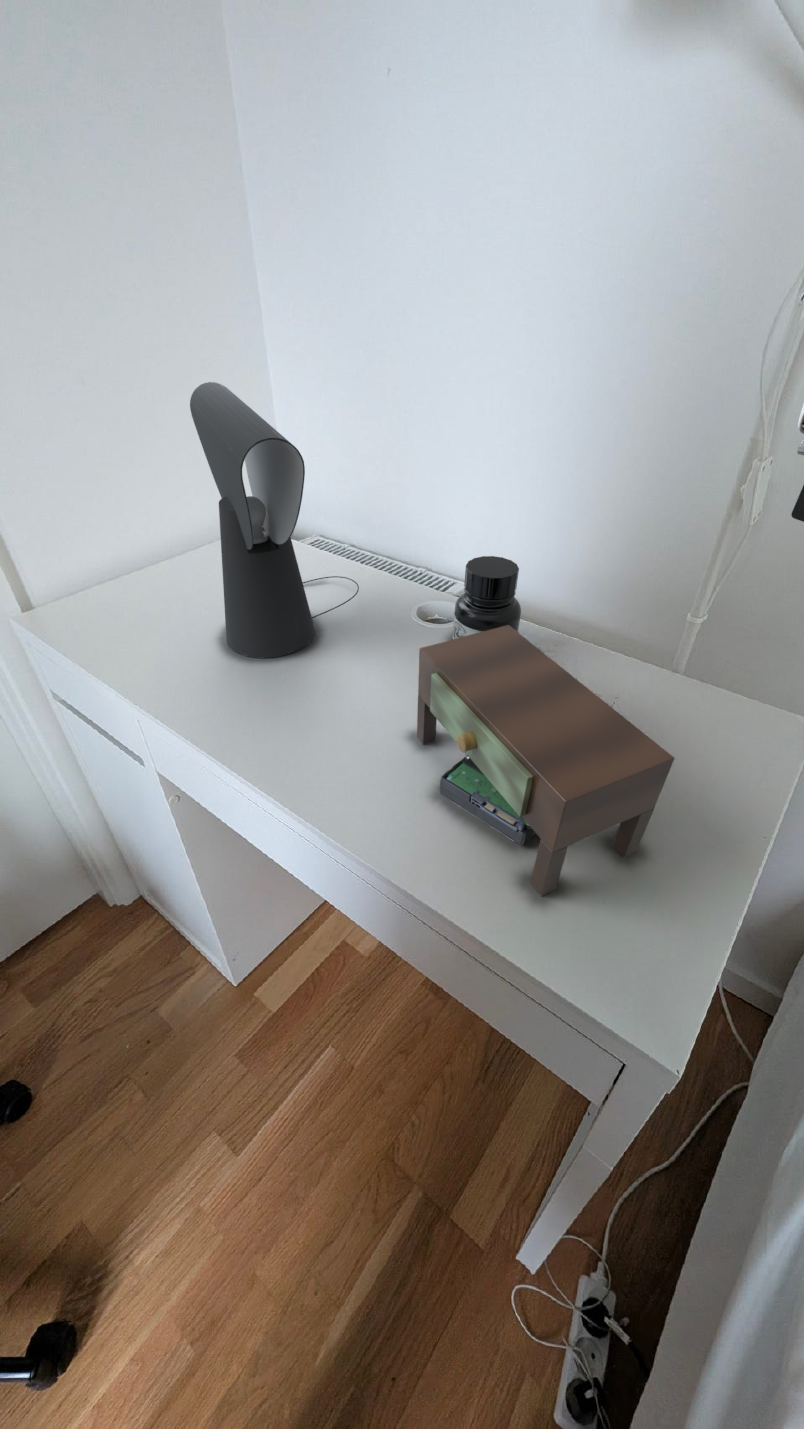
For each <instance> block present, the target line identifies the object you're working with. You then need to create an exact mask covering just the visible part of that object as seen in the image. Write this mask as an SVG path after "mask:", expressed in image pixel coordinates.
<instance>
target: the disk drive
mask: <svg viewBox="0 0 804 1429" xmlns="http://www.w3.org/2000/svg"><path fill="white" fill-rule="evenodd" d="M439 786H440V787H439V794H440V795H441V796H444V797H445V798H446V799H448V800H449V801H450V802H452V803H453V804H454V805H456V806H457V807H459V808H461V809H462V810H464V811H465V812H467V813H468V814H470V815H472V816H473V817H475V819H478V820H480V821H481V822H482V823H484V824H486V825H487V826H489V827H490V828H492V829H493V830H494V831H497V832H498V833H500V834H501V835H503V836H505V837H506V838H508V839H509V840H511V841H512V842H514V843H517V844H518V845H519V846H523V845H525V843H526V842H528V841H529V840H530V839H531V838H532V837H533V836H534V835H535V834H536V833H535V831H534V830H533V829H532V828H531V827H530V826H529V824H528V823H527V822H526V821H525V820H524V818H523V817H520V816H519V815H518V814H517V813H516V812H515V811H514V809H513V808H512V807H511V806H510V805H509V803H508V802H507V801H506V800H505V799H504V798H503V796H502V795H501V794H500V793H499V792H498V790H497V789H496V788H495V787H494V786H493V785H492V783H491V782H490V781H489V780H488V779H487V777H486V776H485V775H484V774H483V773H482V772H481V770H480V769H479V768H478V767H477V766H476V764H475V763H474V762H473V761H472V760H471V759H470V757H469V756H468V755H467V754H466V756H464V757H463V758H462V759H461V760H459V761H458V762H457V763H455V764H454V765H452V767H451V768H450V769H448V770H447V771H446V772H444V774H443V775H441V777H440V785H439Z"/></svg>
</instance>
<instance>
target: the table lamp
mask: <svg viewBox="0 0 804 1429" xmlns="http://www.w3.org/2000/svg"><path fill="white" fill-rule="evenodd" d="M189 408H190V414H191V418H192V420H193V424H194V426H195V429H196V433H197V435H198V438H199V441H200V444H201V447H202V450H203V453H204V456H205V458H206V461H207V463H208V467H209V470H210V472H211V475H212V478H213V480H214V482H215V485H216V488H217V491H218V493H219V495H220V497H221V498H220V499H219V501H218V514H219V516H218V517H219V531H220V532H219V533H220V549H221V550H220V552H221V570H222V586H223V587H222V588H223V603H224V620H225V621H224V622H225V623H224V624H225V638H226V644H227V646H228V647H229V648H230V649H231V650H232V651H234V652H235V653H237V654H239V655H242V656H244V657H245V656H246V657H250V658H255V659H257V658H258V659H269V658H279V657H283V656H286V655H290V654H294V653H295V652H296V653H297V652H298V651H299V650H302V649H303V648H305V647H306V646H308V645H309V644H310V643H311V642H312V641H313V639H314V637H315V635H316V629H315V628H316V627H315V624H314V622H313V619H314V618H317V617H319V616H321V615H324V614H326V613H328V612H330V611H333V610H335V609H337V608H340V607H341V606H343V605H345V604H346V603H348V602H349V601H351V600H352V599H353V598H354V597H356V596H357V594H358V593H359V589H360V586H359V584H358V583H357V582H356V581H355V580H354V579H353V578H349V577H347V576H338V575H337V576H336V575H334V576H333V575H332V576H323V577H318V578H315V579H309V580H307V581H303V579H302V575H301V571H300V568H299V564H298V563H299V562H298V559H297V556H296V552H295V549H294V544H293V541H292V535H293V533H294V531H295V529H296V525H297V522H298V519H299V516H300V512H301V511H300V510H301V506H302V502H303V501H302V500H303V493H304V486H305V477H306V468H305V467H306V466H305V460H304V458H303V456H302V454H301V452H300V451H299V449H298V448H297V447H296V446H295V445H294V444H293V443H291V442H290V441H289V440H288V439H287V438H286V437H285V436H284V435H282V434H281V433H280V432H279V431H277V429H275V428H274V427H273V426H272V425H270V423H268V422H267V421H266V420H265V419H264V418H263V417H262V416H260V414H258V413H257V412H256V411H255V410H253V408H251V407H250V406H249V405H247V404H246V403H245V402H244V401H243V400H242V399H241V398H240V397H238V396H237V395H236V394H235V393H234V392H232V391H231V390H230V389H229V387H227V386H225V385H223V384H221V383H220V382H219V383H218V382H215V381H208V382H204V383H202V384H199V385H198V386H197V387H196V388H194V390H193V392H192V394H191V396H190V400H189ZM244 464H245V468H246V474H247V478H248V484H249V487H250V491H251V496H250V495H248V496H247V492H246V489H245V483H244V478H243V466H244ZM330 578H340V579H341V578H342V579H346V580H350V581H352V582H353V583H355V585H356V587H357V590H356V592H355V593H354V595H353V596H352V597H350V598H349V599H347V600H345V601H344V602H342V603H341V604H339V605H337V606H334V607H332V608H330V609H328V610H325V611H324V612H320V613H319V614H316V615H313V616H312V614H311V610H310V606H309V602H308V598H307V594H306V590H305V587H304V584H306V583H310V582H313V581H317V580H318V581H319V580H322V579H330Z"/></svg>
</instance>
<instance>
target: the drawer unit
mask: <svg viewBox="0 0 804 1429" xmlns="http://www.w3.org/2000/svg"><path fill="white" fill-rule="evenodd" d="M418 652H419V653H418V654H419V655H418V683H417V684H418V686H417V688H418V689H417V692H418V693H417V719H416V720H417V721H416V737H417V738H418V740H419V741H420V742H421V744H422V745H426V744H429V743H432V742H435V741H436V735H437V734H436V733H437V721H438V722H439V724H440V725H441V726H442V727H443V728H444V729H445V731H446V732H447V733H448V734H449V735H450V737H451V738H452V739H453V740H454V741H455V742H456V745H457V747H458V749H459V750H460V752H462V753H465V754H466V756H467V755H468V756H469V757H470V759H471V760H472V761H473V762H474V763H475V764H476V766H477V767H478V768H479V769H480V770H481V772H482V773H483V774H484V775H485V776H486V777H487V779H488V780H489V781H490V782H491V783H492V785H493V786H494V787H495V788H496V789H497V790H498V792H499V793H500V794H501V795H502V796H503V798H504V799H505V800H506V801H507V802H508V803H509V805H510V806H511V807H512V808H513V809H514V811H515V812H516V813H517V814H518V815H519V816H520V817H523V818H524V820H525V821H526V822H527V823H528V824H529V826H530V827H531V828H532V829H533V830H534V831H535V833H534V834H536V835H537V836H538V838H540V840H539V841H540V842H539V845H538V849H537V854H536V857H535V861H534V865H533V869H532V874H531V879H530V881H529V882H530V884H531V886H532V887H533V888H534V889H535V891H536V892H537V893H538V894H539V896H540V897H543V896H545V895H547V894H549V893H552V892H553V891H556V889H557V886H558V882H559V880H560V876H561V872H562V869H563V865H564V863H565V859H566V855H567V853H568V852H567V851H568V848H569V846H571V845H574V844H577V843H578V842H581V841H583V840H585V839H587V838H589V837H592V836H595V835H597V834H598V833H602V832H603V831H605V830H607V829H610V828H612V827H615V826H617V825H618V829H617V831H616V834H615V837H614V839H613V842H612V847H613V848H614V849H615V850H616V851H617V853H619V854H620V856H621V857H623V858H626V857H629V856H630V855H633V854H635V853H636V852H638V849H639V847H640V844H641V842H642V840H643V838H644V837H643V836H644V834H645V832H646V829H647V827H648V826H649V823H650V820H651V818H652V815H653V812H654V809H655V807H656V805H657V803H658V800H659V798H660V795H661V794H662V791H663V787H664V786H665V783H666V780H667V778H668V776H669V773H670V771H671V768H672V766H673V764H674V762H675V757H674V756H673V755H672V754H670V753H669V752H668V751H667V750H666V749H664V748H663V747H662V746H660V745H659V744H658V743H657V742H656V741H654V740H653V739H652V738H651V737H649V735H647V734H646V733H644V732H643V731H642V730H641V729H639V728H638V727H637V726H636V725H634V724H633V723H632V722H631V721H629V720H628V719H627V718H626V717H624V716H623V715H622V714H620V713H619V712H618V711H617V710H615V709H614V708H613V707H612V706H610V705H609V704H608V703H607V702H605V700H603V699H602V698H600V697H599V696H598V695H597V694H596V693H594V692H593V690H590V689H589V688H588V687H587V686H586V685H585V684H583V683H582V682H580V680H578V679H577V678H575V677H574V676H573V675H572V674H570V673H569V672H568V671H567V670H565V669H564V668H563V667H562V666H561V665H560V664H558V663H557V662H555V660H553V659H552V658H551V657H549V656H548V655H547V654H545V653H544V652H543V651H542V650H540V649H539V648H538V647H537V646H536V645H535V644H533V643H532V642H531V641H529V640H528V639H527V638H526V637H525V636H524V635H522V634H521V633H520V632H519V631H518V632H517V631H516V630H514V629H513V628H512V627H511V626H509V625H506V626H502V627H499V628H495V629H491V630H487V631H483V632H479V633H476V634H472V635H468V636H464V637H460V638H457V639H453V638H452V639H450V640H445V641H441V642H438V643H434V644H430V645H427V646H423V647H419V651H418Z"/></svg>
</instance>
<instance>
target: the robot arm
mask: <svg viewBox="0 0 804 1429" xmlns="http://www.w3.org/2000/svg"><path fill="white" fill-rule="evenodd" d="M797 429H798V430H799V432H800V433H801V434H802V435H804V403H803V405H802V408H801V411H800V413H799V418H798V421H797ZM797 454H798V455H800V456H802V457H803V456H804V437H803V438H802V440H801V441H800V444H799V445H798V448H797ZM796 499H797V500H796V502H795V503H794V505H793V506H794V507H793V509H792V511H791V515H790V516H791V517H792V518H793V519H795V520H797V521H800V522H803V523H804V484H803V485H802V488H801V490H800V492H799V495H798V496H797V498H796Z"/></svg>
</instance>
